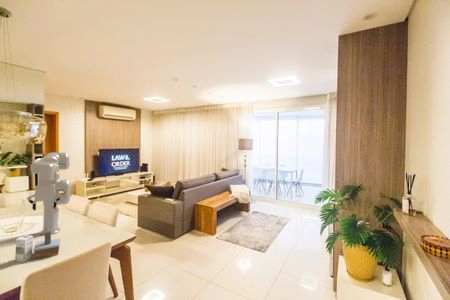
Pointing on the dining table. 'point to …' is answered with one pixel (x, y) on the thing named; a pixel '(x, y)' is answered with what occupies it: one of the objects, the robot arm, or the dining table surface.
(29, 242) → the syrup box
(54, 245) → the lid
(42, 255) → the box
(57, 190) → the robot arm
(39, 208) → the dining table surface
